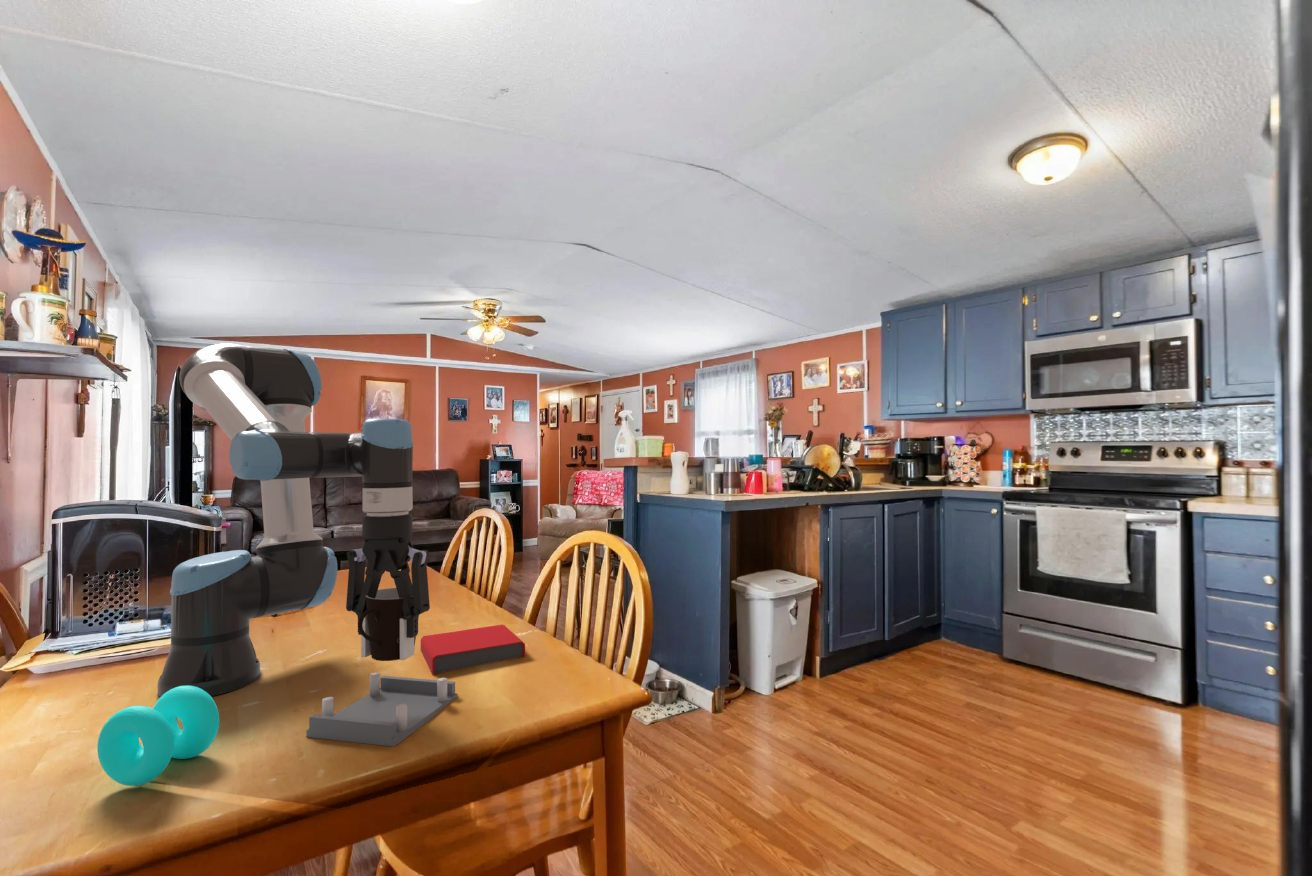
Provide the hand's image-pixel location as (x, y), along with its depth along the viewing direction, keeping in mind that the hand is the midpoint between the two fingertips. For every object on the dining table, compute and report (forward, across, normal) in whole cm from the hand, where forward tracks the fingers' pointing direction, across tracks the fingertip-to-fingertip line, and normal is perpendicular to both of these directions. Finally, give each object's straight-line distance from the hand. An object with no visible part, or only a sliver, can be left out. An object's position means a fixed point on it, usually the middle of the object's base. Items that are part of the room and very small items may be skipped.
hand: (387, 655), depth 100 cm
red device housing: (+10, 0, +27) cm, 29 cm away
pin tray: (+10, 0, 0) cm, 10 cm away
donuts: (+10, -20, -21) cm, 30 cm away
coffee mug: (0, -1, 0) cm, 1 cm away
